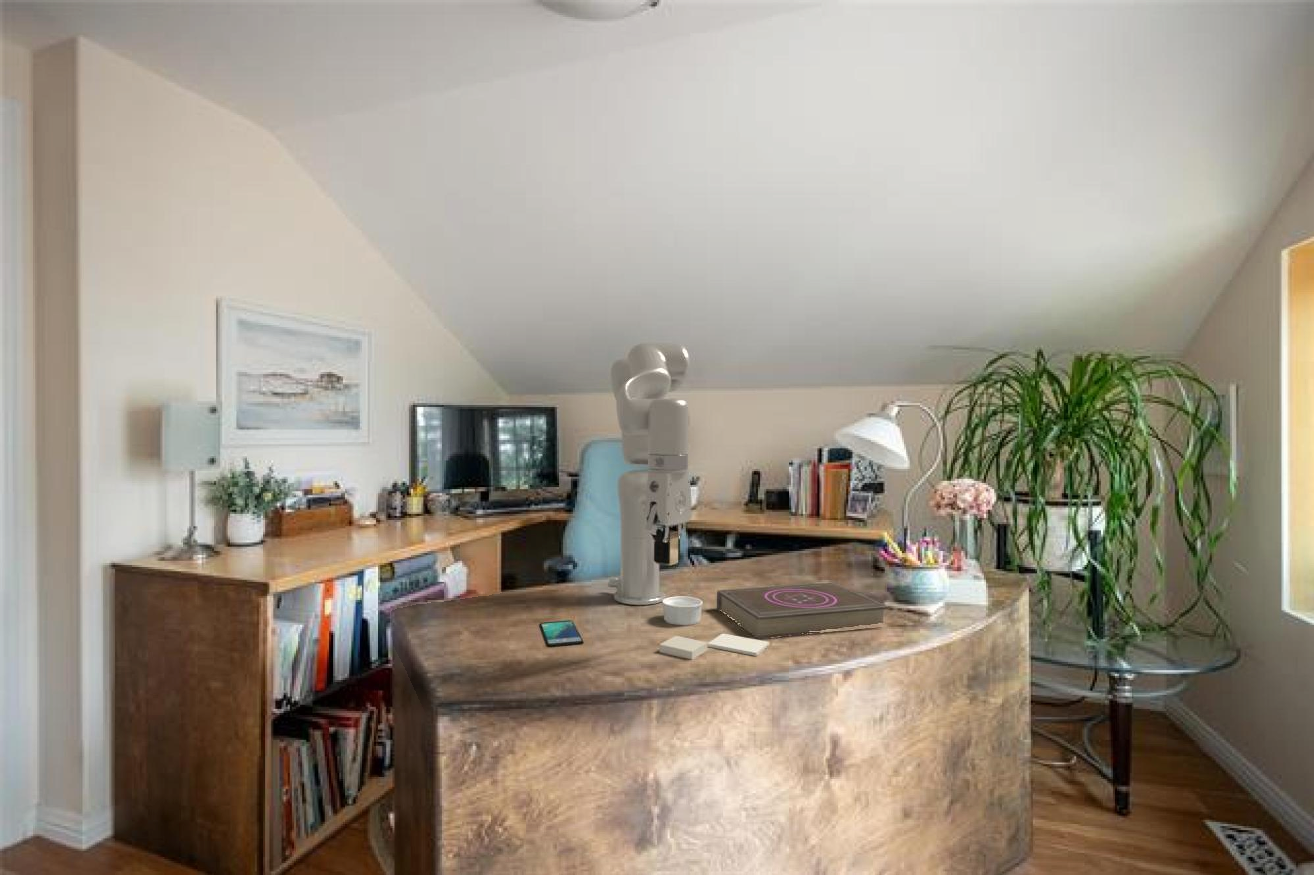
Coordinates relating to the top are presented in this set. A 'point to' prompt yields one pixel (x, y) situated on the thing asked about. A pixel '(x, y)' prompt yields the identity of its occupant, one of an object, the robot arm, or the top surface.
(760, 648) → the mat
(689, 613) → the ramekin
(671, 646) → the tile
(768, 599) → the book
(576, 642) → the smartphone
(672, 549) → the small cardboard box
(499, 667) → the top surface
